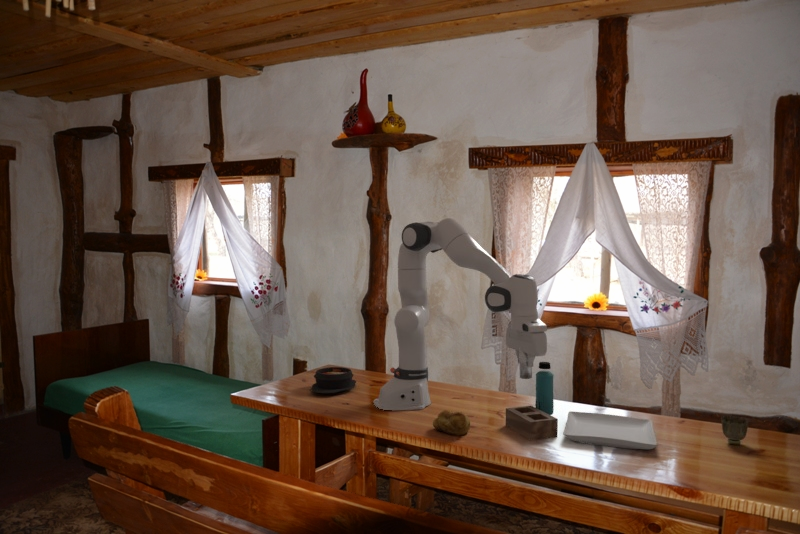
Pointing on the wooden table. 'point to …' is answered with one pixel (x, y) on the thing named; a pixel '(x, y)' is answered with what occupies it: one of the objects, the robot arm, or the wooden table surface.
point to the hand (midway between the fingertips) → (525, 365)
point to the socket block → (531, 422)
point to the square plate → (610, 430)
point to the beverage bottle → (544, 389)
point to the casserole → (333, 380)
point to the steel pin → (524, 366)
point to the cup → (734, 429)
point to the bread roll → (452, 423)
